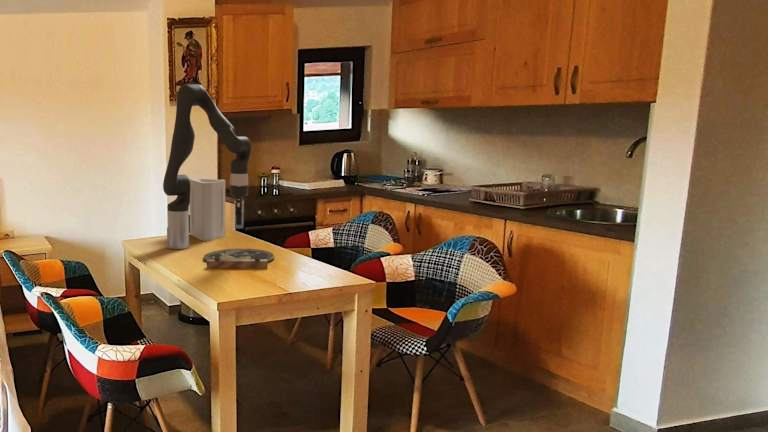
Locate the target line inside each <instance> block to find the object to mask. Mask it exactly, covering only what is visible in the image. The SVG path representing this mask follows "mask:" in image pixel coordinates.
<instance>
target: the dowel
mask: <svg viewBox="0 0 768 432" xmlns="http://www.w3.org/2000/svg"><path fill="white" fill-rule="evenodd" d="M237 212H238V213H240V211H237ZM235 213H236V211H235V210H234V229H238V230H239V229H244V210H243V211H242V224H241V225H236V215H235Z"/></svg>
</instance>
